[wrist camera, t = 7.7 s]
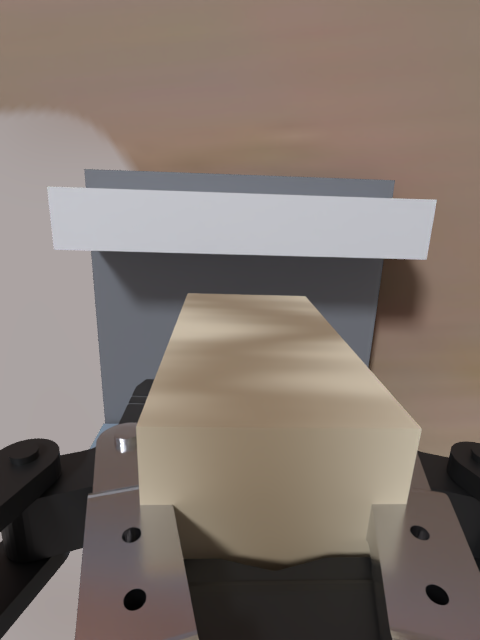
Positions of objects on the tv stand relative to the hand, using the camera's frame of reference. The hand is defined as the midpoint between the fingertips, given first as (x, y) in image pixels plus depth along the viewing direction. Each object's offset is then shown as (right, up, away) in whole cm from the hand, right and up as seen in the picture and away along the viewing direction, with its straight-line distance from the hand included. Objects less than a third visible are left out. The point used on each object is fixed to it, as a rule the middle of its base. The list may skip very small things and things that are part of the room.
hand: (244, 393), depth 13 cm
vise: (0, -1, +12) cm, 12 cm away
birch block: (0, 0, +1) cm, 1 cm away
